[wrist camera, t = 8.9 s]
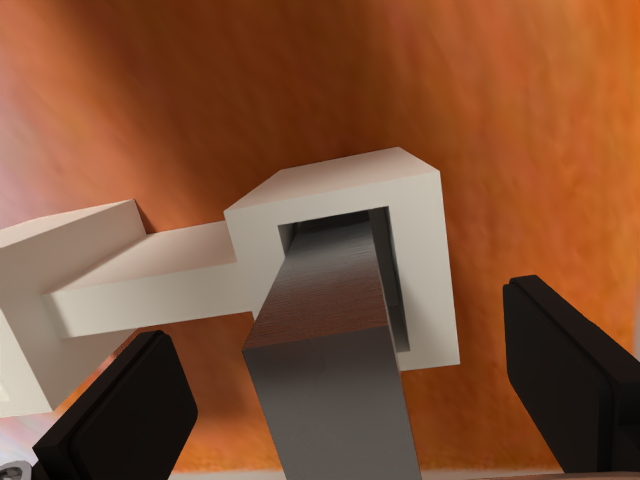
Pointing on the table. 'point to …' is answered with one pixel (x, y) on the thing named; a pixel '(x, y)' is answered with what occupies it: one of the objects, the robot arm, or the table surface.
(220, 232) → the double socket connector
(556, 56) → the table surface
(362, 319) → the gray rectangular block
